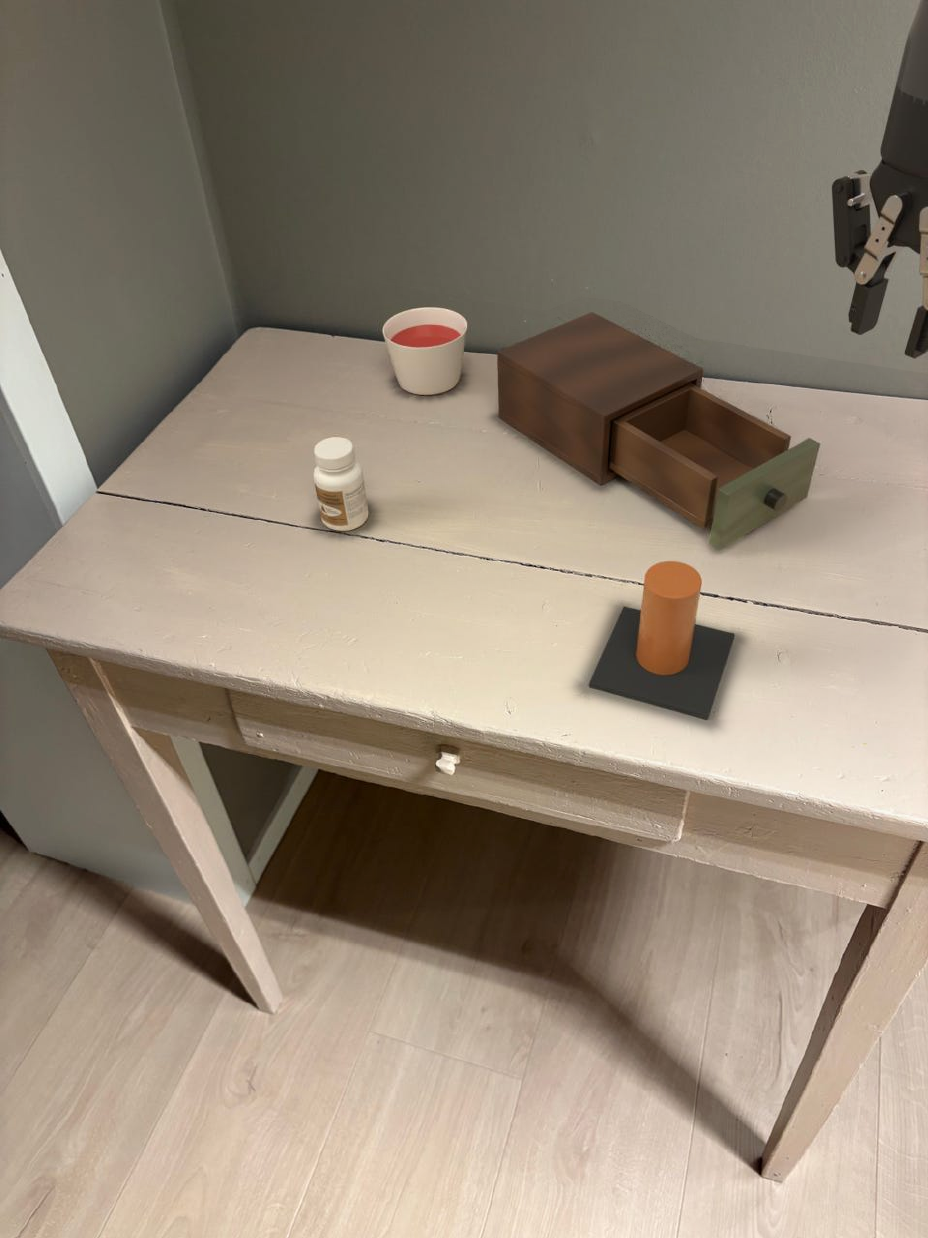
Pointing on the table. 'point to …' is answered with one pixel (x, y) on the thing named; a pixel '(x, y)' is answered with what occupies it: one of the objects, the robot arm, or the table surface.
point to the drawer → (711, 462)
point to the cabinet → (584, 387)
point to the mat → (673, 692)
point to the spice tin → (668, 617)
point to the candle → (426, 348)
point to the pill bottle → (339, 485)
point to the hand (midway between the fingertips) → (889, 340)
